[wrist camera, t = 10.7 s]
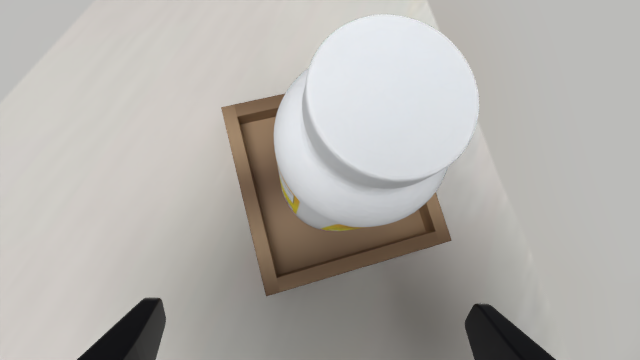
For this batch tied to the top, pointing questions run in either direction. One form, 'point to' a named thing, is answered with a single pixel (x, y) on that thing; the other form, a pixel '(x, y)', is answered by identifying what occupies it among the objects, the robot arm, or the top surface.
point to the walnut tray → (292, 233)
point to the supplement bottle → (373, 123)
